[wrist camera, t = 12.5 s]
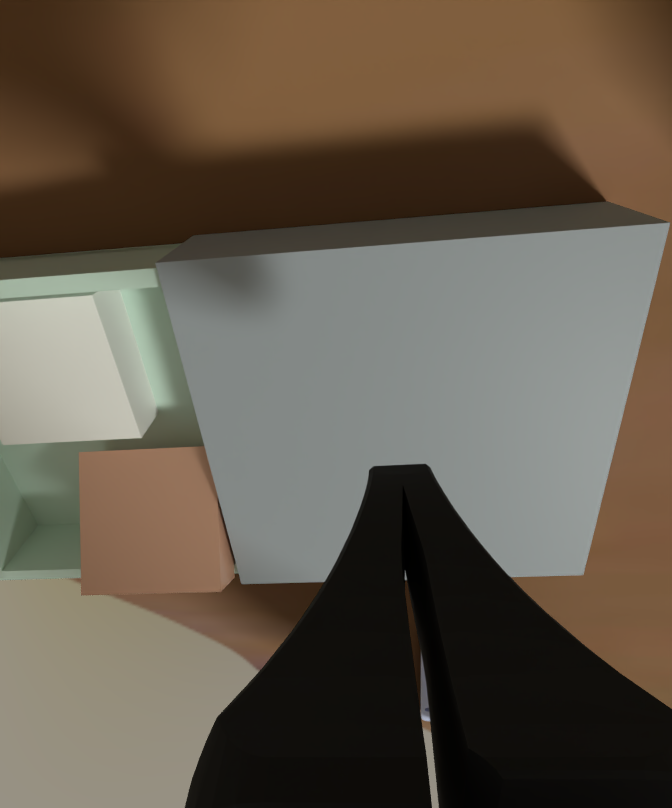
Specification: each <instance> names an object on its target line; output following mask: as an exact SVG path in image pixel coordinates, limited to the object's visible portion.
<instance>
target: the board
mask: <svg viewBox="0 0 672 808" xmlns="http://www.w3.org/2000/svg"><path fill="white" fill-rule="evenodd" d="M669 225H670V222H667V221H664V220H661V219H658V218H655V217H652V216H649V215H646V214H643V213H640V212H637V211H634V210H631V209H629V208H626V207H623V206H620V205H617V204H614V203H611V202H608V201H607V202H595V203H582V204H570V205H558V206H546V207H534V208H521V209H509V210H497V211H485V212H473V213H461V214H448V215H436V216H424V217H412V218H400V219H388V220H375V221H363V222H351V223H339V224H327V225H314V226H302V227H290V228H278V229H266V230H254V231H241V232H229V233H217V234H205V235H193V236H192V237H190V238H189V239H188V240H186V241H185V242H183V243H182V244H181V245H179V246H178V247H177V248H175V249H174V250H172V251H171V252H170V253H168V254H167V255H166V256H164V257H163V258H161V259H160V260H159V261H157V262H156V263H155V264H156V268H157V271H158V275H159V279H160V282H161V286H162V290H163V294H164V297H165V301H166V305H167V308H168V312H169V316H170V320H171V323H172V327H173V331H174V335H175V338H176V342H177V346H178V349H179V353H180V357H181V361H182V364H183V368H184V372H185V375H186V379H187V383H188V387H189V390H190V394H191V398H192V402H193V405H194V409H195V413H196V416H197V420H198V424H199V428H200V431H201V435H202V439H203V442H204V446H205V450H206V454H207V457H208V461H209V465H210V469H211V472H212V476H213V480H214V483H215V487H216V491H217V495H218V498H219V502H220V506H221V509H222V513H223V517H224V521H225V524H226V528H227V532H228V536H229V539H230V543H231V547H232V550H233V554H234V558H235V562H236V565H237V569H238V573H239V576H240V580H241V584H267V583H304V582H325V580H326V579H327V577H328V575H329V573H330V572H331V570H332V568H333V566H334V564H335V562H336V561H337V559H338V557H339V555H340V552H341V550H342V548H343V546H344V544H345V542H346V540H347V538H348V536H349V534H350V531H351V529H352V527H353V524H354V522H355V519H356V516H357V514H358V511H359V509H360V506H361V503H362V500H363V497H364V494H365V490H366V486H367V481H368V476H369V470H370V469H371V468H372V467H373V466H386V465H407V464H427V465H428V466H429V467H430V468H431V470H432V472H433V474H434V476H435V478H436V480H437V481H438V483H439V485H440V487H441V488H442V490H443V492H444V493H445V495H446V496H447V498H448V499H449V501H450V503H451V504H452V505H453V507H454V508H455V510H456V511H457V513H458V514H459V515H460V517H461V518H462V520H463V521H464V522H465V524H466V525H467V526H468V528H469V529H470V531H471V532H472V533H473V534H474V536H475V537H476V538H477V539H478V541H479V542H480V543H481V544H482V546H483V547H484V548H485V549H486V550H487V552H488V553H489V554H490V555H491V556H492V558H493V559H494V560H495V561H496V562H497V563H498V564H499V566H500V567H501V568H502V569H503V570H504V571H505V572H506V573H507V574H508V575H509V576H510V577H529V576H567V575H583V574H584V570H585V566H586V562H587V558H588V554H589V550H590V546H591V542H592V538H593V534H594V530H595V525H596V521H597V517H598V513H599V509H600V505H601V501H602V497H603V493H604V489H605V485H606V481H607V477H608V473H609V469H610V465H611V461H612V457H613V452H614V448H615V444H616V440H617V436H618V432H619V428H620V424H621V420H622V416H623V412H624V408H625V404H626V400H627V396H628V392H629V388H630V384H631V379H632V375H633V371H634V367H635V363H636V359H637V355H638V351H639V347H640V343H641V339H642V335H643V331H644V327H645V323H646V319H647V315H648V311H649V306H650V302H651V298H652V294H653V290H654V286H655V282H656V278H657V274H658V270H659V266H660V262H661V258H662V254H663V250H664V246H665V242H666V238H667V233H668V229H669ZM405 580H407V577H406V572H405Z"/></svg>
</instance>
